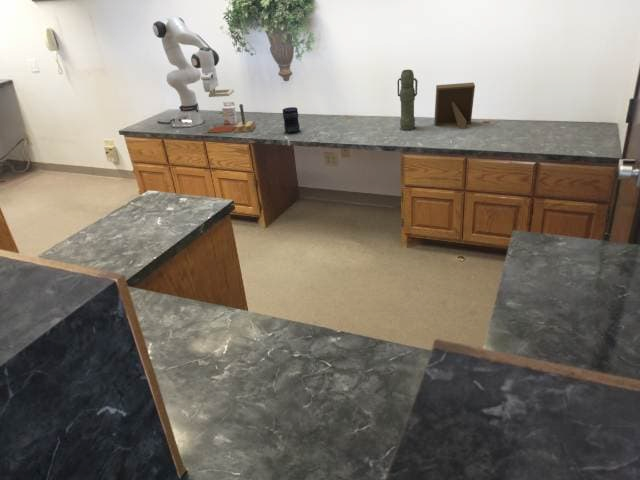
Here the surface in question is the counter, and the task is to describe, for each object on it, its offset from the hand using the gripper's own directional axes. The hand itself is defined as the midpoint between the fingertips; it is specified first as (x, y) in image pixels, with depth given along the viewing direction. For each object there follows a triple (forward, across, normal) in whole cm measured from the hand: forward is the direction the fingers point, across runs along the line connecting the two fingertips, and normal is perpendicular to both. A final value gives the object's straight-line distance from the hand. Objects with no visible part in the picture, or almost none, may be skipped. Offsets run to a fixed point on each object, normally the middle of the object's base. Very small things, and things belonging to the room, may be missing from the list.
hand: (213, 95), depth 336 cm
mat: (+25, -6, 0) cm, 25 cm away
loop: (+1, -6, +4) cm, 7 cm away
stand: (+24, -2, +17) cm, 30 cm away
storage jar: (+24, +10, +52) cm, 58 cm away
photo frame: (+23, +16, +154) cm, 157 cm away
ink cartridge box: (+25, -21, +2) cm, 33 cm away
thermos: (+23, +16, +126) cm, 129 cm away
